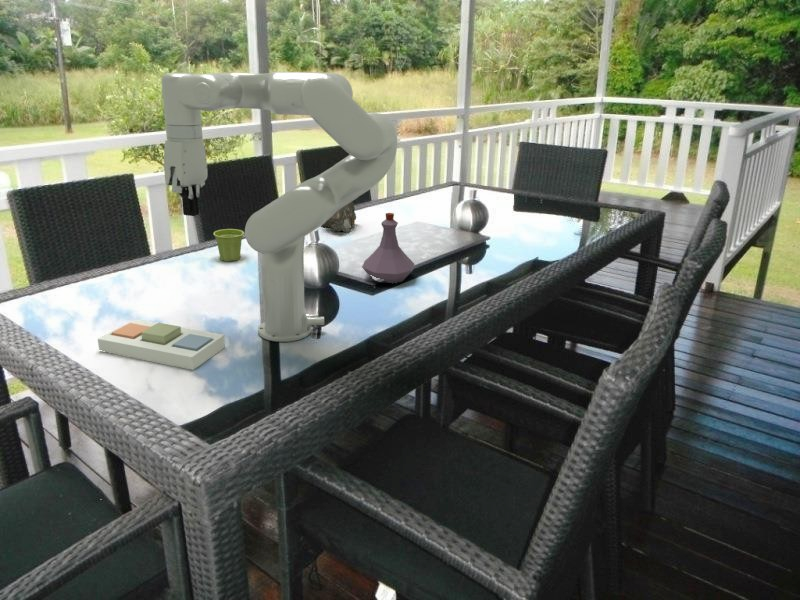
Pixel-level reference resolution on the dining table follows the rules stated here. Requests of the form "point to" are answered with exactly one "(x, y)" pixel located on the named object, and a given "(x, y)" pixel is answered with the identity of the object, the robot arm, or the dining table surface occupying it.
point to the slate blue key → (192, 342)
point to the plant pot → (229, 243)
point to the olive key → (161, 333)
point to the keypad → (162, 347)
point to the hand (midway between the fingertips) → (191, 214)
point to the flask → (389, 256)
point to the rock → (342, 218)
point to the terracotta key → (130, 331)
